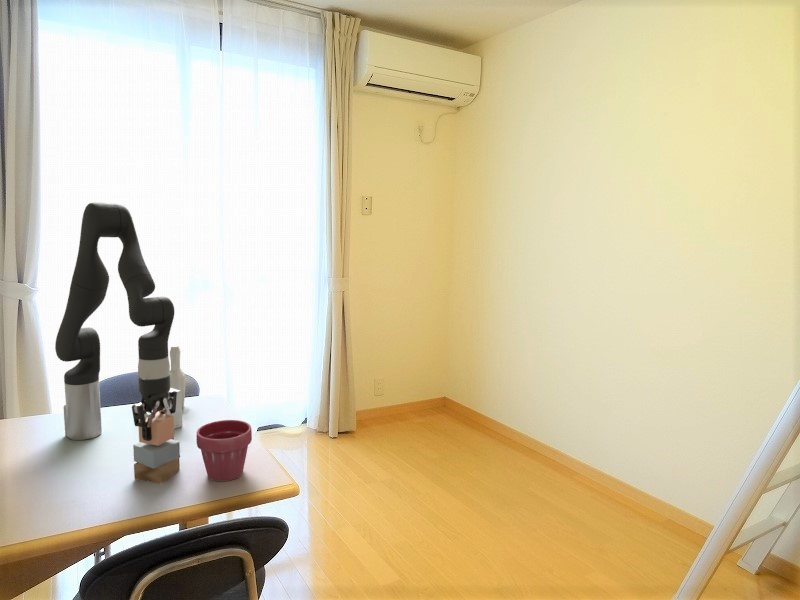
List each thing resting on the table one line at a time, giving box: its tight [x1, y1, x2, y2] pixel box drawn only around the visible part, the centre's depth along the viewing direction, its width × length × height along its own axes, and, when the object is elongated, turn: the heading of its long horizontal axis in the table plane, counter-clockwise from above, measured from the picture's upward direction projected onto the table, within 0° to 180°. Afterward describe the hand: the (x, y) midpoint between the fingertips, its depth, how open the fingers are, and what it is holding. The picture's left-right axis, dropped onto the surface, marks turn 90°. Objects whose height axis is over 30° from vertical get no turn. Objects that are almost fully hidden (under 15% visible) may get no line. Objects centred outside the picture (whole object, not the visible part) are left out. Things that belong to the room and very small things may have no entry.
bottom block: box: [133, 458, 180, 484], centre depth 152 cm, size 8×8×4 cm
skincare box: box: [170, 388, 184, 430], centre depth 185 cm, size 6×4×12 cm
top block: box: [132, 439, 181, 469], centre depth 151 cm, size 8×8×4 cm
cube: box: [138, 412, 175, 446], centre depth 150 cm, size 6×6×6 cm
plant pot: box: [196, 419, 253, 482], centre depth 153 cm, size 14×14×13 cm
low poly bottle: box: [169, 345, 187, 408], centre depth 201 cm, size 6×6×22 cm
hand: (156, 435), depth 150 cm, fingers closed on cube, 6 cm apart
